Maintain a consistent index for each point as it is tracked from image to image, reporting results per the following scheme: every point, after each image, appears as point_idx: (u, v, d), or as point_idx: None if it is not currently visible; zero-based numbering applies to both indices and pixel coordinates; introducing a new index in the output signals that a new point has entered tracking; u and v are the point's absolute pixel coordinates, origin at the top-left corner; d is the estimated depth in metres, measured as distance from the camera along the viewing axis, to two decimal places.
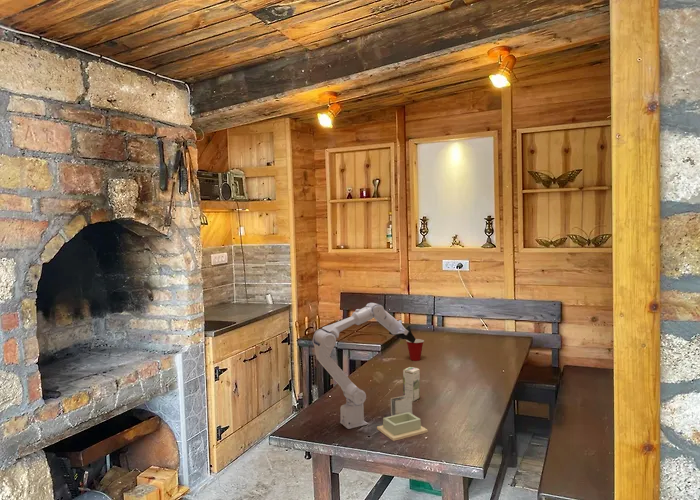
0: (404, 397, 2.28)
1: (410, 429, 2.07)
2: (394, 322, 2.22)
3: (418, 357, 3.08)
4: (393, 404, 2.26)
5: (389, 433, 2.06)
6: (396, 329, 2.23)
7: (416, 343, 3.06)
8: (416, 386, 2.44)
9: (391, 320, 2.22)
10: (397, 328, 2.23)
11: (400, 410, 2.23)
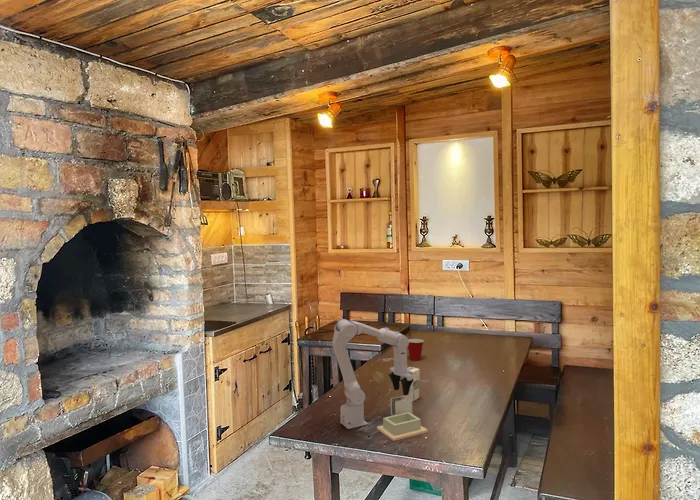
0: (404, 397, 2.28)
1: (410, 429, 2.07)
2: (405, 364, 2.23)
3: (418, 357, 3.08)
4: (393, 404, 2.26)
5: (389, 433, 2.06)
6: (402, 371, 2.22)
7: (416, 343, 3.06)
8: (416, 386, 2.44)
9: (404, 360, 2.22)
10: (403, 371, 2.22)
11: (400, 410, 2.23)
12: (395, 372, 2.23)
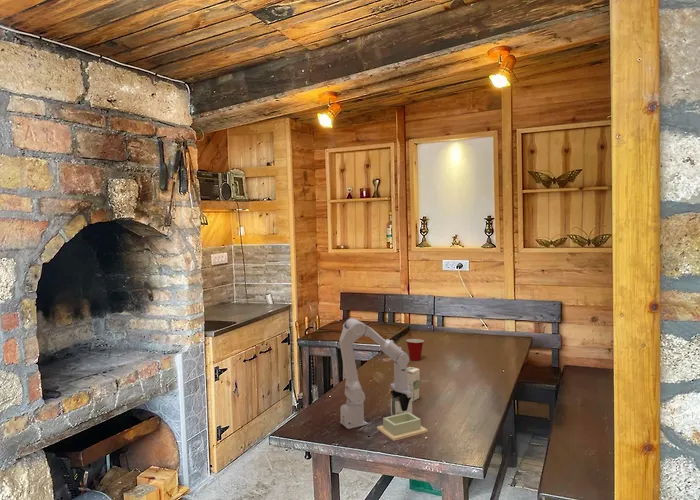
0: None
1: (410, 429, 2.07)
2: (406, 381, 2.23)
3: (418, 357, 3.08)
4: (393, 403, 2.26)
5: (389, 433, 2.06)
6: (402, 388, 2.22)
7: (416, 343, 3.06)
8: (416, 386, 2.44)
9: (404, 377, 2.23)
10: (404, 388, 2.23)
11: (400, 410, 2.23)
12: (395, 389, 2.24)
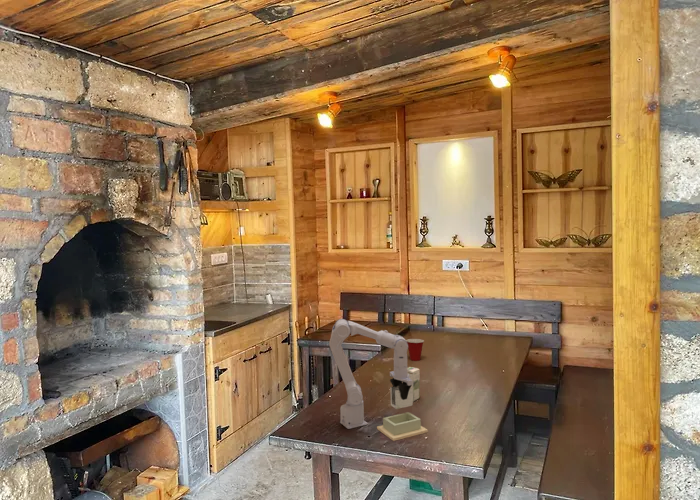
0: None
1: (410, 429, 2.07)
2: (405, 368, 2.17)
3: (418, 357, 3.08)
4: (393, 393, 2.19)
5: (389, 433, 2.06)
6: (402, 376, 2.16)
7: (416, 343, 3.06)
8: (416, 386, 2.44)
9: (403, 365, 2.16)
10: (403, 376, 2.16)
11: (400, 399, 2.17)
12: (395, 377, 2.17)
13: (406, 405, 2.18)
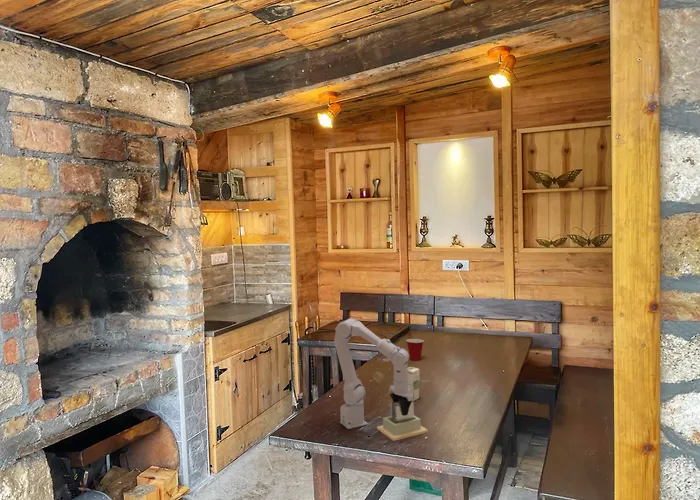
0: None
1: (410, 429, 2.07)
2: (406, 383, 2.08)
3: (418, 357, 3.08)
4: (393, 408, 2.10)
5: (389, 433, 2.06)
6: (402, 390, 2.07)
7: (416, 343, 3.06)
8: (416, 386, 2.44)
9: (400, 379, 2.07)
10: (404, 390, 2.07)
11: (401, 415, 2.08)
12: (395, 391, 2.08)
13: None
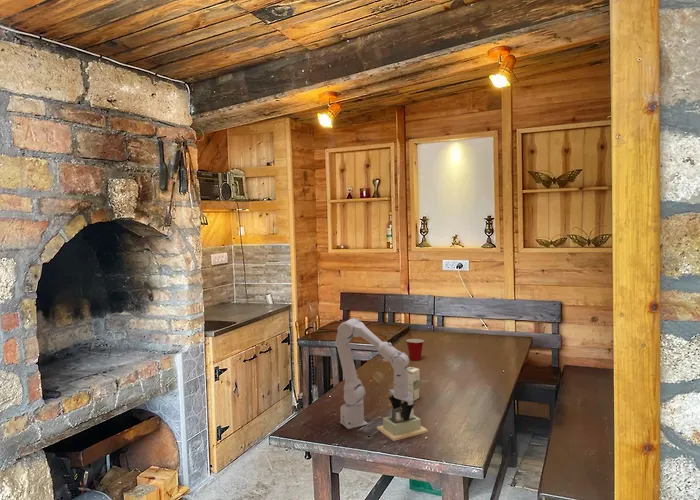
0: None
1: (410, 429, 2.07)
2: (406, 387, 2.08)
3: (418, 357, 3.08)
4: (393, 415, 2.11)
5: (389, 433, 2.06)
6: (402, 395, 2.07)
7: (416, 343, 3.06)
8: (416, 386, 2.44)
9: (400, 383, 2.07)
10: (404, 394, 2.07)
11: None
12: (395, 395, 2.08)
13: None
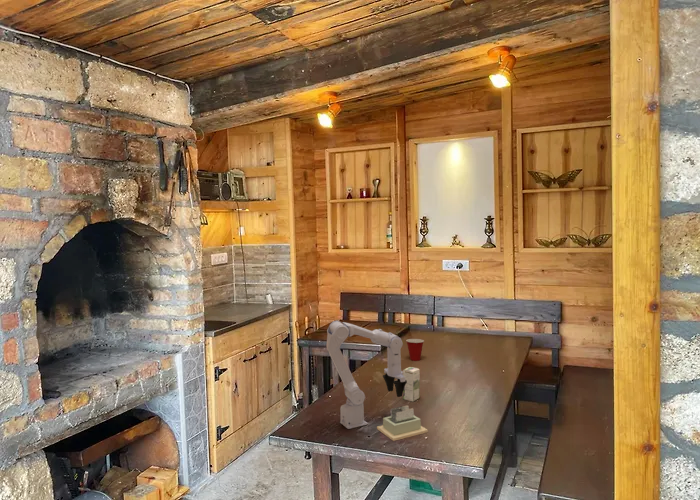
0: (405, 408, 2.13)
1: (410, 429, 2.07)
2: (399, 365, 2.21)
3: (418, 357, 3.08)
4: (393, 415, 2.11)
5: (389, 433, 2.06)
6: (395, 372, 2.21)
7: (416, 343, 3.06)
8: (416, 386, 2.44)
9: (398, 361, 2.21)
10: (397, 372, 2.21)
11: None
12: (389, 373, 2.22)
13: None
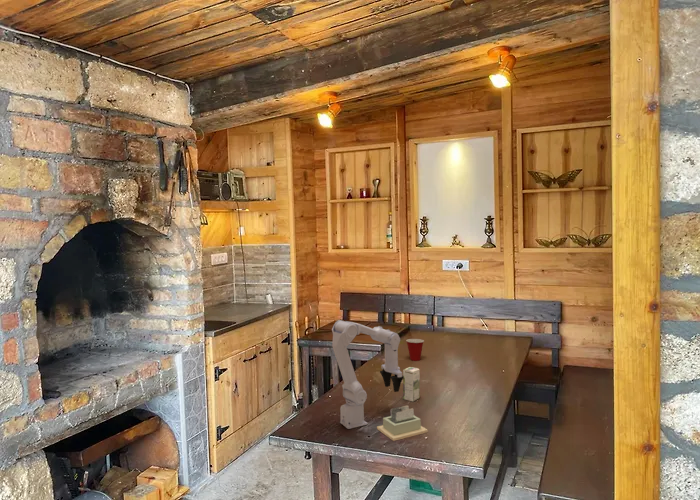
0: (405, 408, 2.13)
1: (410, 429, 2.07)
2: (396, 361, 2.27)
3: (418, 357, 3.08)
4: (393, 415, 2.11)
5: (389, 433, 2.06)
6: (392, 368, 2.27)
7: (416, 343, 3.06)
8: (416, 386, 2.44)
9: (396, 357, 2.27)
10: (394, 368, 2.27)
11: None
12: (386, 369, 2.28)
13: None
